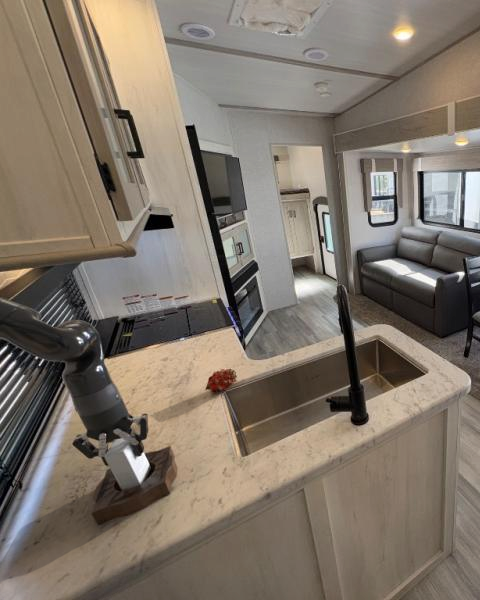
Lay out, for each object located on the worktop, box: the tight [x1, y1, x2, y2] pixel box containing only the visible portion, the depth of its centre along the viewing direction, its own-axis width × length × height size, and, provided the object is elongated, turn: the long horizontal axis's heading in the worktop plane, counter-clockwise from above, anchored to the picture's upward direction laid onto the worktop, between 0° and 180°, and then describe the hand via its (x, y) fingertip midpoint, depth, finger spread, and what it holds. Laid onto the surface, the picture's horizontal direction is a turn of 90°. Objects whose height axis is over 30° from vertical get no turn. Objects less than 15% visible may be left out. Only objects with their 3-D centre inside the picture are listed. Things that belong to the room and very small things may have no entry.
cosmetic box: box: [104, 438, 151, 491], centre depth 77 cm, size 6×4×12 cm
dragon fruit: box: [204, 368, 238, 394], centre depth 118 cm, size 8×8×12 cm
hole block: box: [90, 445, 178, 526], centre depth 80 cm, size 16×16×4 cm
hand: (126, 458), depth 77 cm, fingers closed on cosmetic box, 4 cm apart
